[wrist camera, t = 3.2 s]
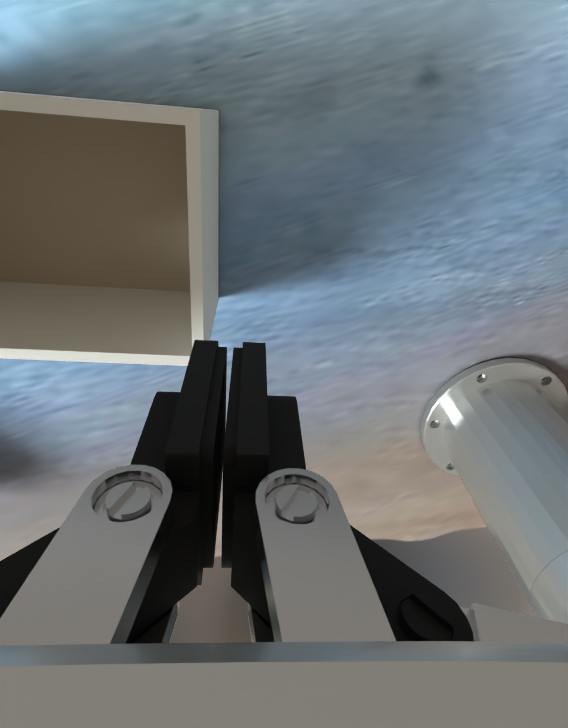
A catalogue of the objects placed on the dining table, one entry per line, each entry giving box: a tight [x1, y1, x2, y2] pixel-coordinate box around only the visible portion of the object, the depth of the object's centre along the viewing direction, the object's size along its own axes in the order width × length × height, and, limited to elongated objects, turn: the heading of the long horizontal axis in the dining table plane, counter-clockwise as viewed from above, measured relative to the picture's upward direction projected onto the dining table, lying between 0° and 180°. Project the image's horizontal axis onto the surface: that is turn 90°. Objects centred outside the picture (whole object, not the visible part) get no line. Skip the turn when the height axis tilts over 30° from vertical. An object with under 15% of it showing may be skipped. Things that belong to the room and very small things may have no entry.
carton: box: [0, 91, 219, 366], centre depth 24 cm, size 16×12×10 cm
